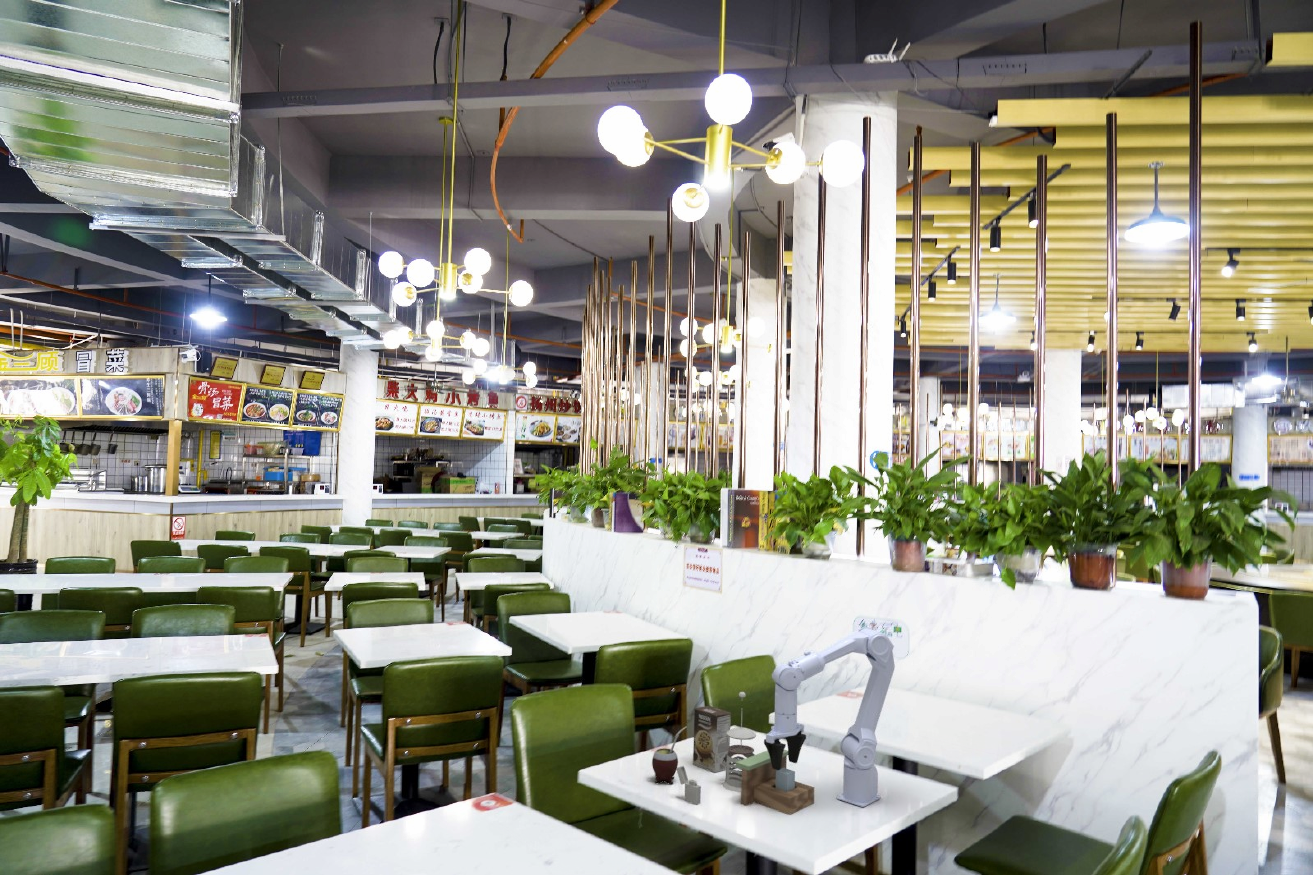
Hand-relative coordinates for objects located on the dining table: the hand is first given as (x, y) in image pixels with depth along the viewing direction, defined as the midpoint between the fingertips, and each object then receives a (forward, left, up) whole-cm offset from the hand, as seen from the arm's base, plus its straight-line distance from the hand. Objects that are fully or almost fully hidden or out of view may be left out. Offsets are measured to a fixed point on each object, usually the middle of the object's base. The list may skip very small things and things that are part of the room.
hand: (784, 765), depth 214 cm
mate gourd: (+11, -31, -10) cm, 34 cm away
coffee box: (-7, -30, -10) cm, 32 cm away
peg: (0, 0, -8) cm, 8 cm away
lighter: (+17, -18, -10) cm, 27 cm away
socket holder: (0, -2, -9) cm, 10 cm away
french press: (-1, -16, -10) cm, 19 cm away
